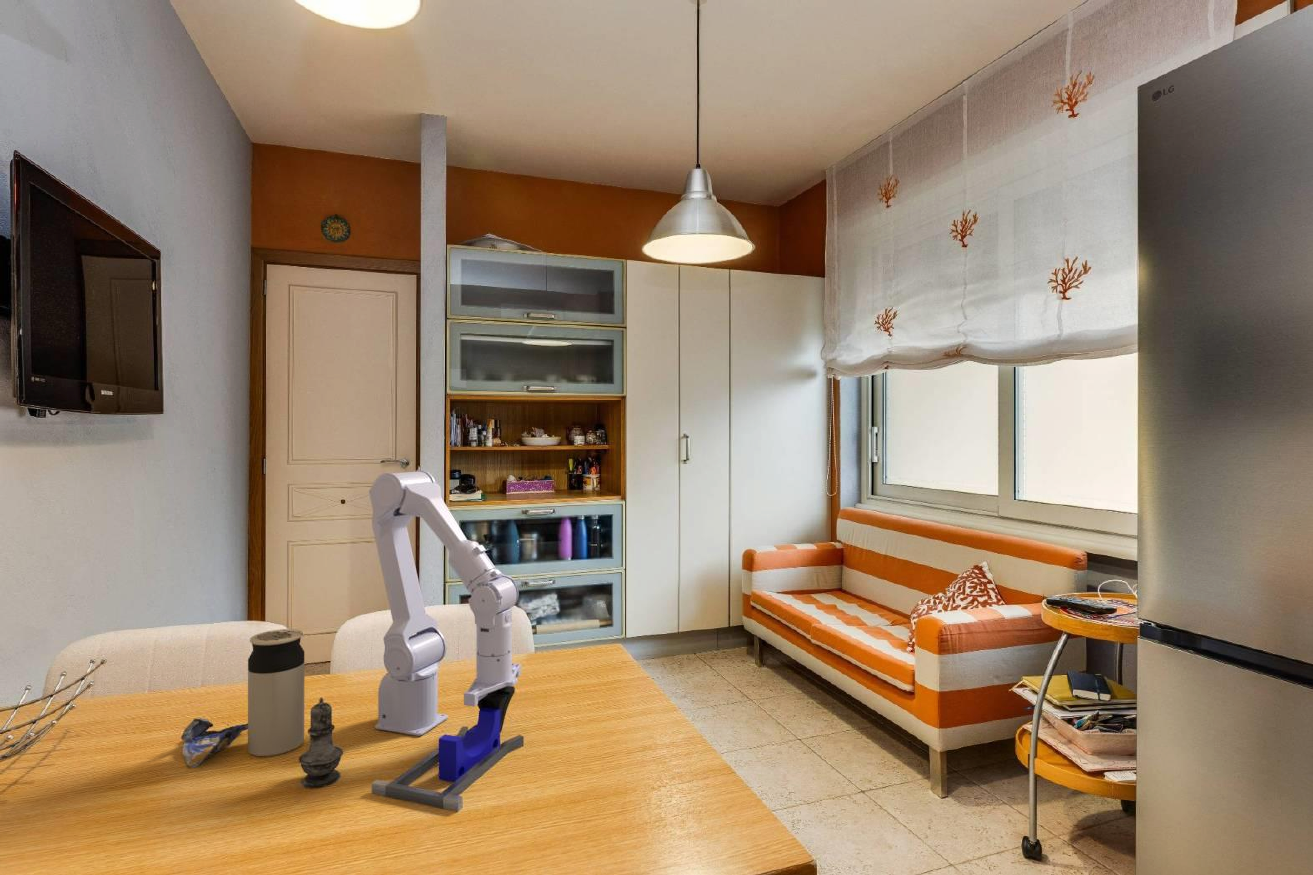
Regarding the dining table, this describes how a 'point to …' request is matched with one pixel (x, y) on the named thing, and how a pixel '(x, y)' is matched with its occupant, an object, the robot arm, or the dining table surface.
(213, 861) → the dining table surface
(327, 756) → the salt shaker
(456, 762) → the blue cradle block
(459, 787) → the rail
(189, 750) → the snack package
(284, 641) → the travel mug
